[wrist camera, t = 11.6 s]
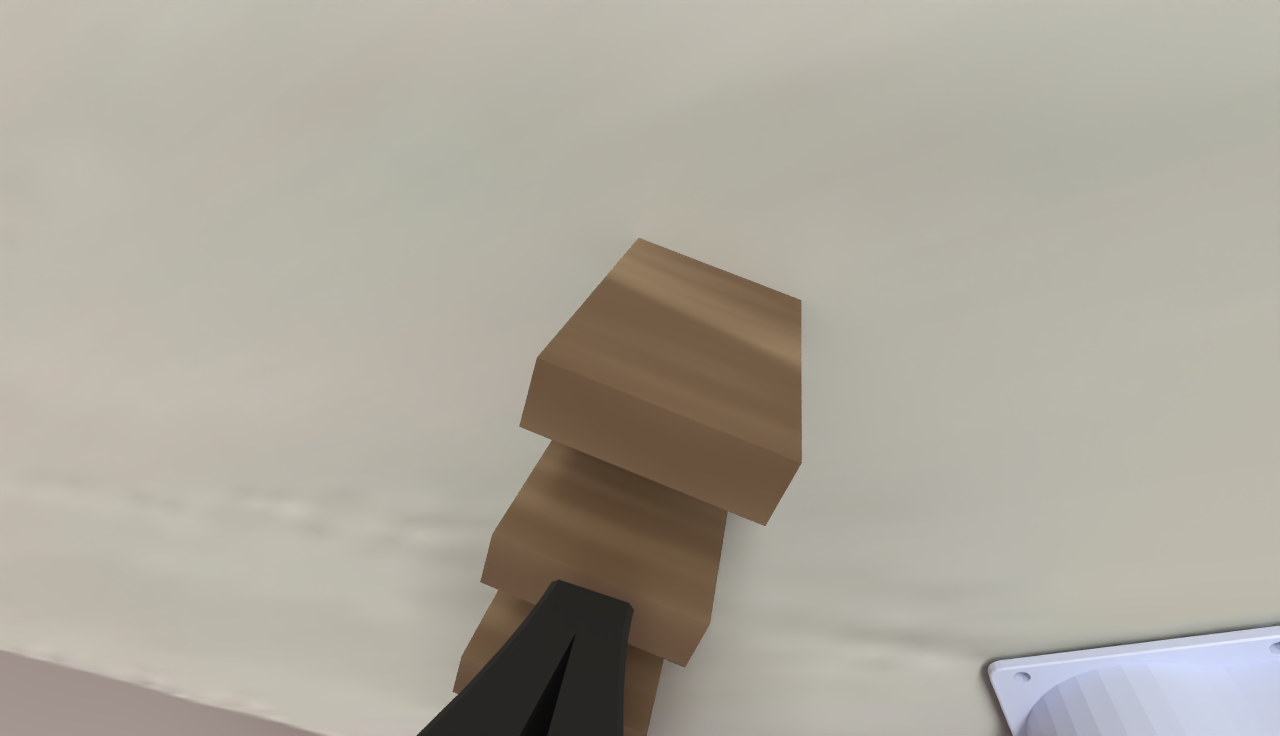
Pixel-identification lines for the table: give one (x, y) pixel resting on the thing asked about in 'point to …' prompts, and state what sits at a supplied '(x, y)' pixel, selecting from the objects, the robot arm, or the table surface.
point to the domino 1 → (679, 381)
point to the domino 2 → (613, 546)
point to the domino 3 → (510, 615)
